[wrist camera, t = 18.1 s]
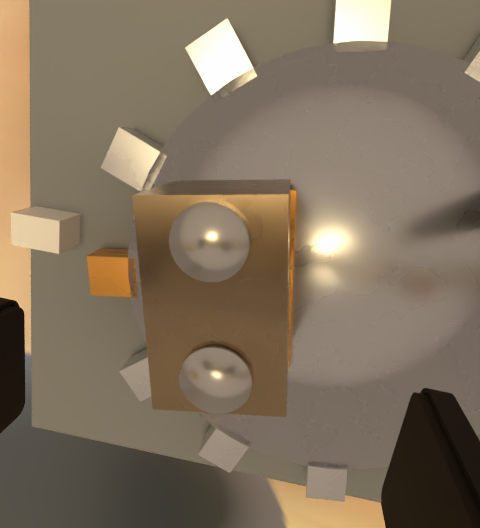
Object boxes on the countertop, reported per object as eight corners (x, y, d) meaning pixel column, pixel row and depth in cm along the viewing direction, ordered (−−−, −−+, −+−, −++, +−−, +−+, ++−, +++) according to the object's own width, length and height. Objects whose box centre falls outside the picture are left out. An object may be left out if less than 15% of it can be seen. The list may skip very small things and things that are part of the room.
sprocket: (494, -152, 15) (633, -353, 9) (689, 381, 20) (870, 492, 13) (10, 179, 21) (-108, 196, 15) (246, 529, 26) (230, 653, 19)
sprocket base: (810, 29, 17) (926, 5, 13) (562, 526, 24) (600, 581, 21) (45, -64, 19) (-3, -102, 16) (42, 414, 27) (10, 449, 24)
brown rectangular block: (290, 179, 18) (288, 195, 13) (288, 350, 20) (286, 422, 15) (174, 180, 18) (128, 196, 13) (185, 346, 20) (150, 414, 15)
